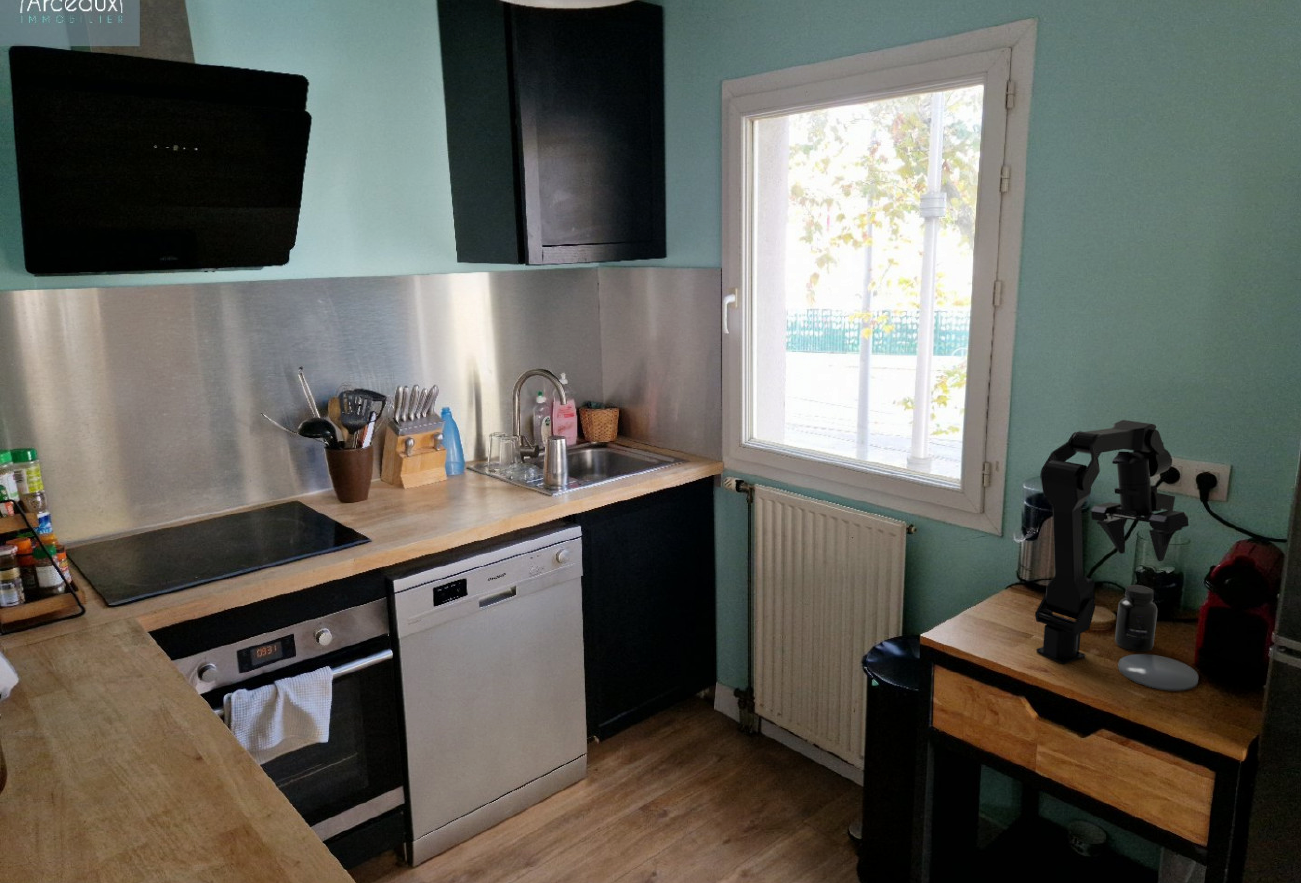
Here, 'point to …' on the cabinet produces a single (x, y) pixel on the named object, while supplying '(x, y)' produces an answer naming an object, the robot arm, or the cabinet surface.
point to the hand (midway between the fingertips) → (1141, 557)
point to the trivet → (1158, 672)
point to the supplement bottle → (1136, 619)
